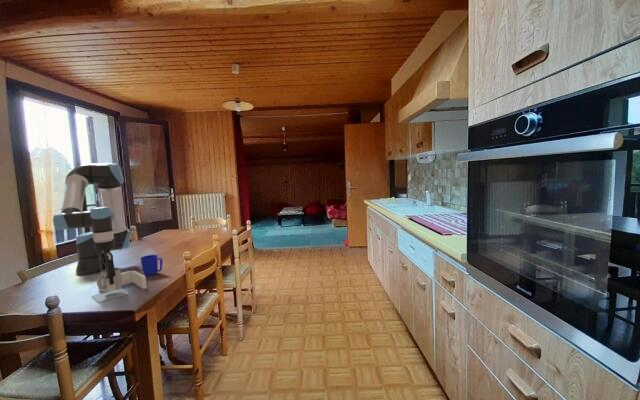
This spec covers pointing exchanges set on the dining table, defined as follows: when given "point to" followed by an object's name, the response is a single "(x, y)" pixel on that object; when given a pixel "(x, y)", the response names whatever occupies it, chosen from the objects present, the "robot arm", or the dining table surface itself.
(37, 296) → the dining table surface
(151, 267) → the mug
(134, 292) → the dining table surface
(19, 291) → the dining table surface
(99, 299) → the pad
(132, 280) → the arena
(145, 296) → the dining table surface
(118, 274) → the cup
